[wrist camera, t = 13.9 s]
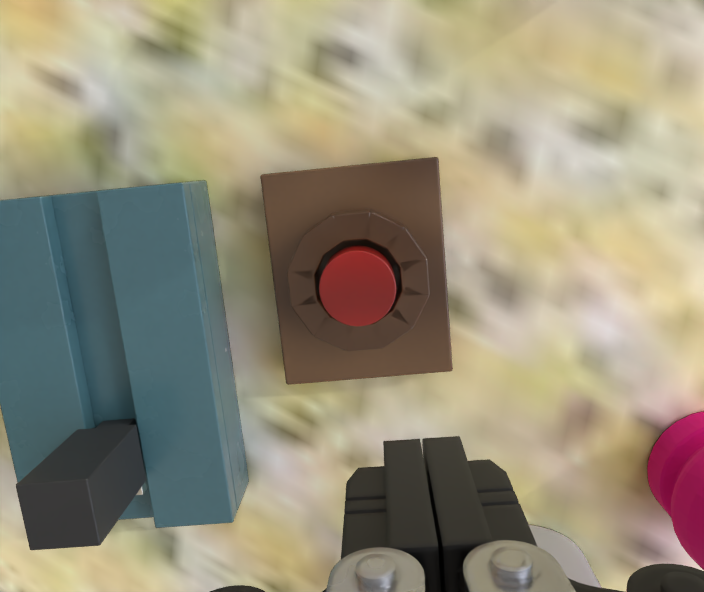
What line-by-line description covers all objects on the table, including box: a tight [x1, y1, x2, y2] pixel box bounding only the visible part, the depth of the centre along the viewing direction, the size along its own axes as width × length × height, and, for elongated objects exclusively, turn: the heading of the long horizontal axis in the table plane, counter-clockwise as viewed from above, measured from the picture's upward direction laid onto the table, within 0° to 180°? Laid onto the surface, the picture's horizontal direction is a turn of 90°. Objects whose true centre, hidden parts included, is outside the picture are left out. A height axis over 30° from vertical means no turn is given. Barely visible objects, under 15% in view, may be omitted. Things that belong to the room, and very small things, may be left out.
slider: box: [16, 418, 146, 550], centre depth 27 cm, size 3×3×6 cm
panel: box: [261, 157, 453, 385], centre depth 29 cm, size 10×8×4 cm
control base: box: [0, 180, 249, 528], centre depth 30 cm, size 16×10×5 cm, turn 6°
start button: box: [319, 245, 396, 326], centre depth 27 cm, size 3×3×2 cm
